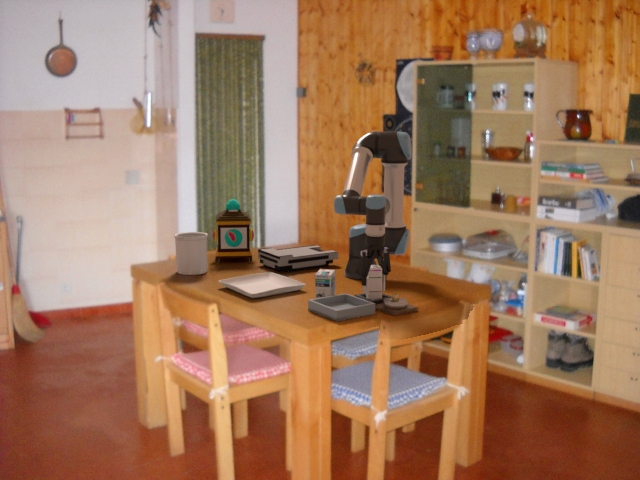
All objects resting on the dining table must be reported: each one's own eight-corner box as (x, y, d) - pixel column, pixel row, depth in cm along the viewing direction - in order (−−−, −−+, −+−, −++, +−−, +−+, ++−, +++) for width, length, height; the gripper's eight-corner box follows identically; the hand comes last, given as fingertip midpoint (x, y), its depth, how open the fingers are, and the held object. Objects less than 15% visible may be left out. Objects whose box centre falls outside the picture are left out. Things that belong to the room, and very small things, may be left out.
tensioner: (353, 301, 306) (353, 286, 305) (376, 296, 313) (376, 282, 312) (393, 315, 287) (394, 300, 285) (417, 310, 293) (418, 295, 292)
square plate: (217, 288, 326) (216, 279, 326) (271, 279, 343) (270, 270, 342) (251, 302, 305) (251, 292, 305) (307, 291, 322) (307, 282, 321)
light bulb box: (331, 301, 305) (331, 275, 303) (314, 300, 307) (314, 274, 305) (335, 295, 316) (336, 269, 314) (319, 294, 317) (319, 268, 315)
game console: (338, 266, 369) (338, 249, 367) (279, 274, 352) (279, 256, 350) (314, 258, 386) (314, 242, 384) (258, 265, 369) (258, 249, 367)
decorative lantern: (253, 255, 392) (252, 196, 387) (255, 263, 373) (254, 201, 367) (213, 255, 389) (212, 196, 384) (213, 264, 370) (212, 202, 365)
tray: (308, 310, 293) (308, 299, 292) (345, 303, 303) (346, 293, 303) (336, 321, 279) (336, 310, 278) (375, 313, 289) (375, 303, 288)
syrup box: (382, 304, 303) (383, 267, 300) (367, 304, 302) (368, 268, 299) (380, 300, 308) (380, 264, 306) (365, 300, 308) (366, 264, 305)
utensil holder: (173, 269, 359) (172, 232, 356) (205, 267, 363) (204, 230, 360) (177, 276, 345) (176, 237, 342) (211, 274, 350) (210, 236, 346)
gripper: (360, 239, 291) (359, 297, 296) (401, 233, 303) (400, 290, 307) (348, 235, 297) (347, 293, 302) (389, 230, 309) (387, 286, 313)
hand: (373, 291), depth 304 cm, fingers closed on syrup box, 8 cm apart
